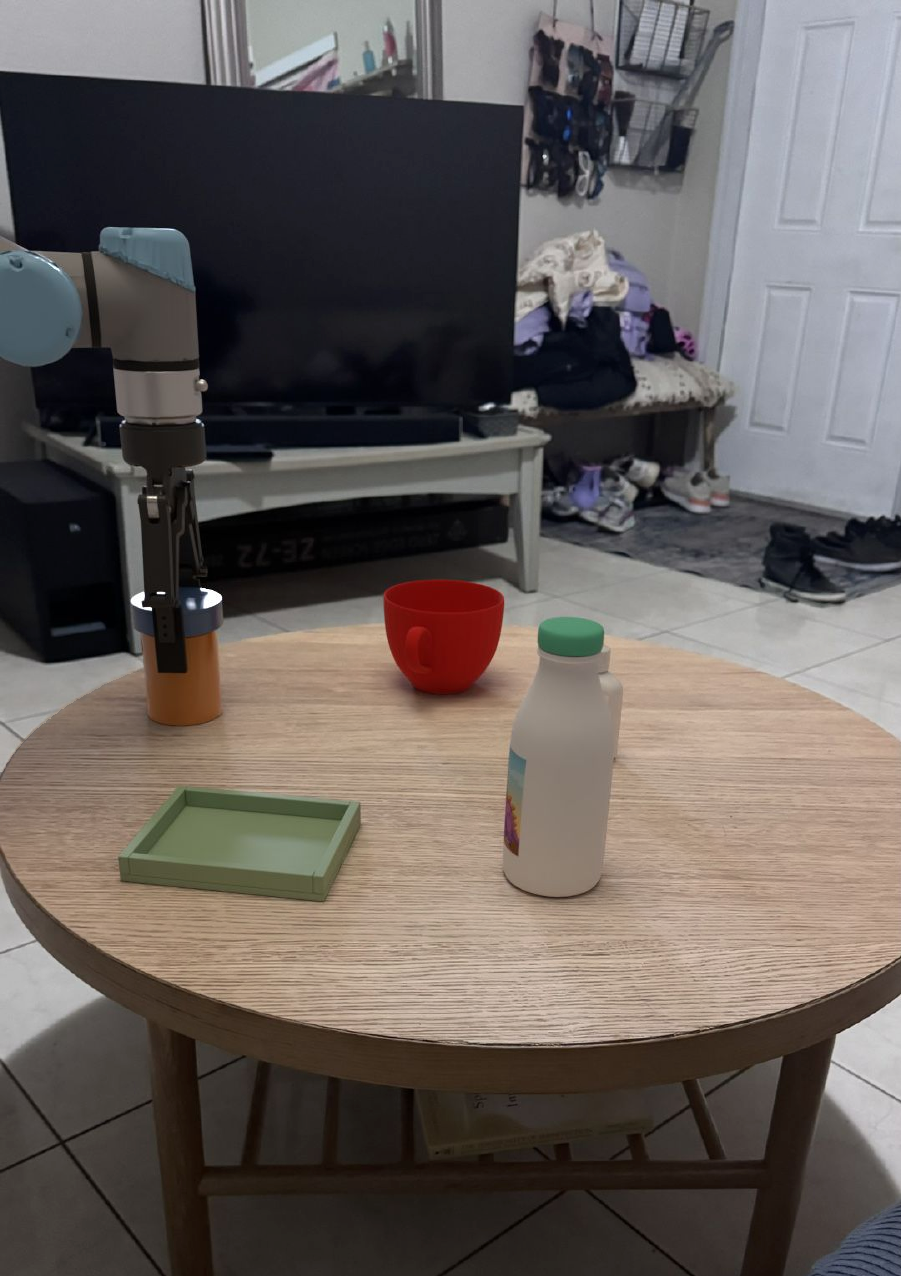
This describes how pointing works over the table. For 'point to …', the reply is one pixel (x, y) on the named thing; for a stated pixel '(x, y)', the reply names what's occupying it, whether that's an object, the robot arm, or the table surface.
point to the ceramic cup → (443, 632)
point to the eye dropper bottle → (611, 692)
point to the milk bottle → (560, 766)
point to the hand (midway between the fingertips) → (182, 655)
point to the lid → (184, 612)
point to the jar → (184, 683)
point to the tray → (243, 843)
